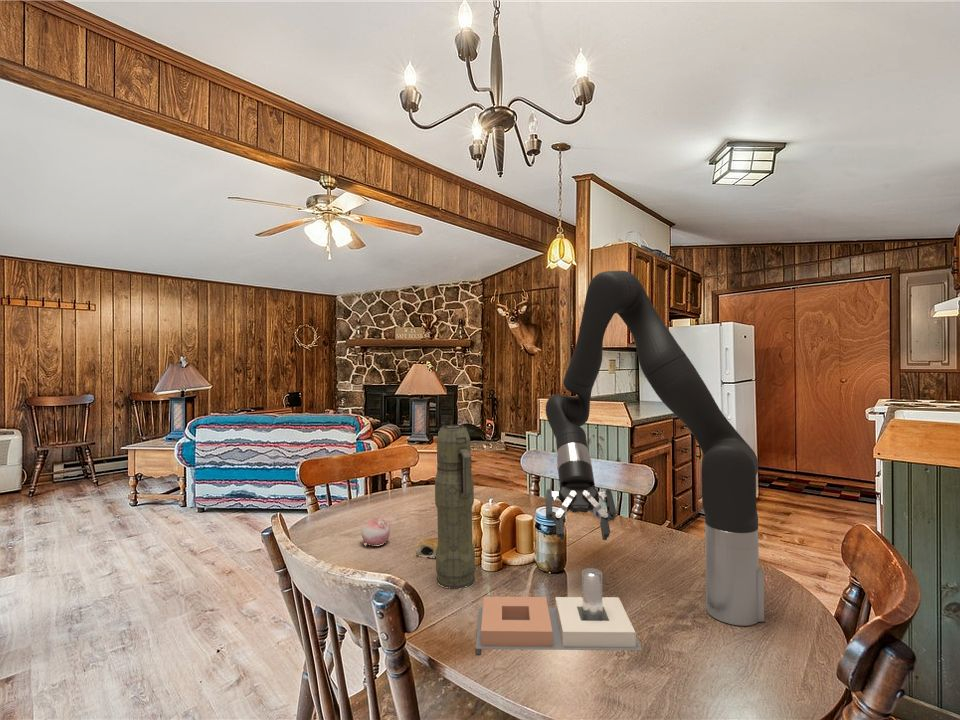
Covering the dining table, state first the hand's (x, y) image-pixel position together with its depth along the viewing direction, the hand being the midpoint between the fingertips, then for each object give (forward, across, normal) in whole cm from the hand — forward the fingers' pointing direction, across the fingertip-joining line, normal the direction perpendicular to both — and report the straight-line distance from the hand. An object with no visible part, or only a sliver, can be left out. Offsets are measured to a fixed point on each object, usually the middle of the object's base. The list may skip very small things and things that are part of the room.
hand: (583, 538), depth 99 cm
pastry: (-10, -35, +30) cm, 47 cm away
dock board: (+16, -7, +4) cm, 18 cm away
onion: (-14, -51, +34) cm, 63 cm away
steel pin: (+15, 0, +3) cm, 16 cm away
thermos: (+2, -27, +19) cm, 33 cm away
